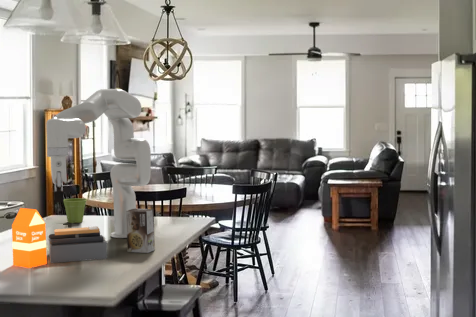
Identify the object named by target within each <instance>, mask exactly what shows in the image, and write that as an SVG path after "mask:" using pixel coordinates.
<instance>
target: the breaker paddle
mask: <svg viewBox="0 0 476 317" xmlns="http://www.w3.org/2000/svg"><path fill="white" fill-rule="evenodd" d="M53 231H54V232H53V234H55V235H67V234H82V233H97V232H100V233H101V231H100V228H99V226H96V225H95V226H88V227H87V226H85V227H73V228H57V229H53Z"/></svg>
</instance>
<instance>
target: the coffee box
mask: <svg viewBox="0 0 476 317" xmlns="http://www.w3.org/2000/svg"><path fill="white" fill-rule="evenodd" d="M154 211H155V210H154V208H136V209H131V210H128V211H126V222H127V238H126V246H127V247H126V248H127V251H126V252H127V253H143V254H144V253H145V254H146V253H147V254H149V253H151V252H153V251H155V250H156V247H155V246H156V245H155V216H154V214H155V212H154Z"/></svg>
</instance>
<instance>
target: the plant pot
mask: <svg viewBox="0 0 476 317" xmlns="http://www.w3.org/2000/svg"><path fill="white" fill-rule="evenodd" d="M87 201H88V199H87V198H64V202H63V205H64V208H65V209H64V210H65V213H66V214H65V215H66V220H67V223H68V224H75V223H78V224H79V223H82V222H84V221H83V220H84V214H85V208H86V204H87Z"/></svg>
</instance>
